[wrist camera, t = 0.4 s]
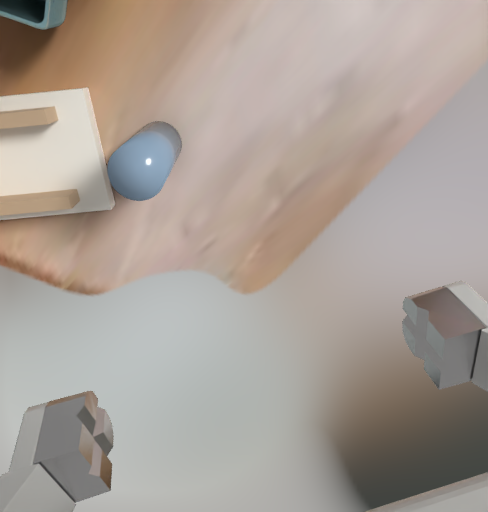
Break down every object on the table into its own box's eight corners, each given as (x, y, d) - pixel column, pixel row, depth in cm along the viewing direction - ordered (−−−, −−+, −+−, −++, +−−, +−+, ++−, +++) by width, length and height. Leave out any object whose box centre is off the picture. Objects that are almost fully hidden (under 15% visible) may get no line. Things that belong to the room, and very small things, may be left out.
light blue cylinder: (134, 123, 50) (101, 147, 38) (178, 119, 50) (159, 141, 37) (142, 167, 52) (114, 203, 40) (184, 162, 52) (169, 197, 40)
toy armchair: (-51, 101, 49) (-115, 112, 40) (88, 87, 48) (54, 95, 39) (-8, 216, 55) (-56, 248, 46) (115, 204, 54) (92, 234, 45)
